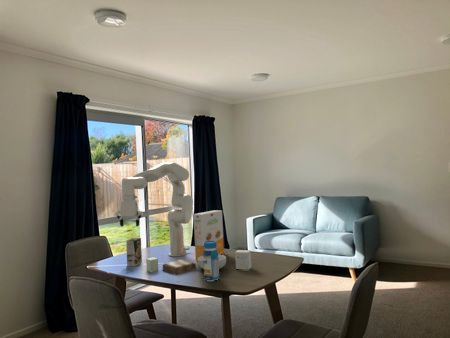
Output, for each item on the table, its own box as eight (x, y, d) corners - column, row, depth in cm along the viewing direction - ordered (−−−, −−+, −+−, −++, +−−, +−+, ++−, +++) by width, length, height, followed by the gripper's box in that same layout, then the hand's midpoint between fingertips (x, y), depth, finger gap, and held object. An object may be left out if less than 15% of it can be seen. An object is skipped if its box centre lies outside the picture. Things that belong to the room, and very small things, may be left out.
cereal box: (216, 253, 257) (214, 210, 257) (223, 253, 253) (221, 210, 253) (195, 260, 239) (193, 214, 239) (203, 261, 235) (200, 214, 235)
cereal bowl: (194, 268, 220) (194, 256, 220) (220, 264, 225) (220, 252, 225) (203, 275, 204) (202, 262, 204) (230, 271, 209) (230, 258, 210)
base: (182, 265, 227) (181, 258, 227) (195, 269, 216) (195, 262, 216) (162, 270, 218) (162, 263, 218) (176, 274, 207) (175, 267, 207)
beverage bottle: (220, 281, 191) (218, 242, 191) (204, 282, 190) (202, 243, 190) (219, 276, 199) (217, 239, 199) (203, 277, 199) (202, 240, 199)
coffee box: (136, 266, 230) (135, 240, 230) (126, 266, 231) (125, 240, 231) (142, 262, 239) (141, 237, 239) (133, 262, 240) (132, 237, 240)
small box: (251, 268, 213) (250, 250, 213) (249, 270, 208) (248, 252, 208) (238, 267, 216) (237, 249, 216) (235, 270, 211) (234, 251, 211)
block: (154, 268, 222) (153, 257, 222) (158, 270, 218) (157, 258, 218) (146, 270, 219) (146, 258, 219) (151, 272, 215) (150, 260, 215)
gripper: (144, 197, 226) (145, 224, 226) (117, 198, 228) (118, 225, 228) (140, 198, 219) (141, 226, 219) (112, 199, 221) (113, 227, 220)
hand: (129, 226), depth 223 cm, fingers open, 9 cm apart
